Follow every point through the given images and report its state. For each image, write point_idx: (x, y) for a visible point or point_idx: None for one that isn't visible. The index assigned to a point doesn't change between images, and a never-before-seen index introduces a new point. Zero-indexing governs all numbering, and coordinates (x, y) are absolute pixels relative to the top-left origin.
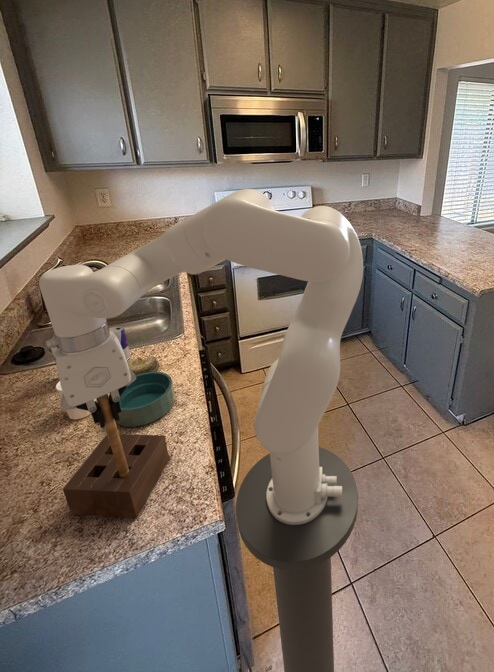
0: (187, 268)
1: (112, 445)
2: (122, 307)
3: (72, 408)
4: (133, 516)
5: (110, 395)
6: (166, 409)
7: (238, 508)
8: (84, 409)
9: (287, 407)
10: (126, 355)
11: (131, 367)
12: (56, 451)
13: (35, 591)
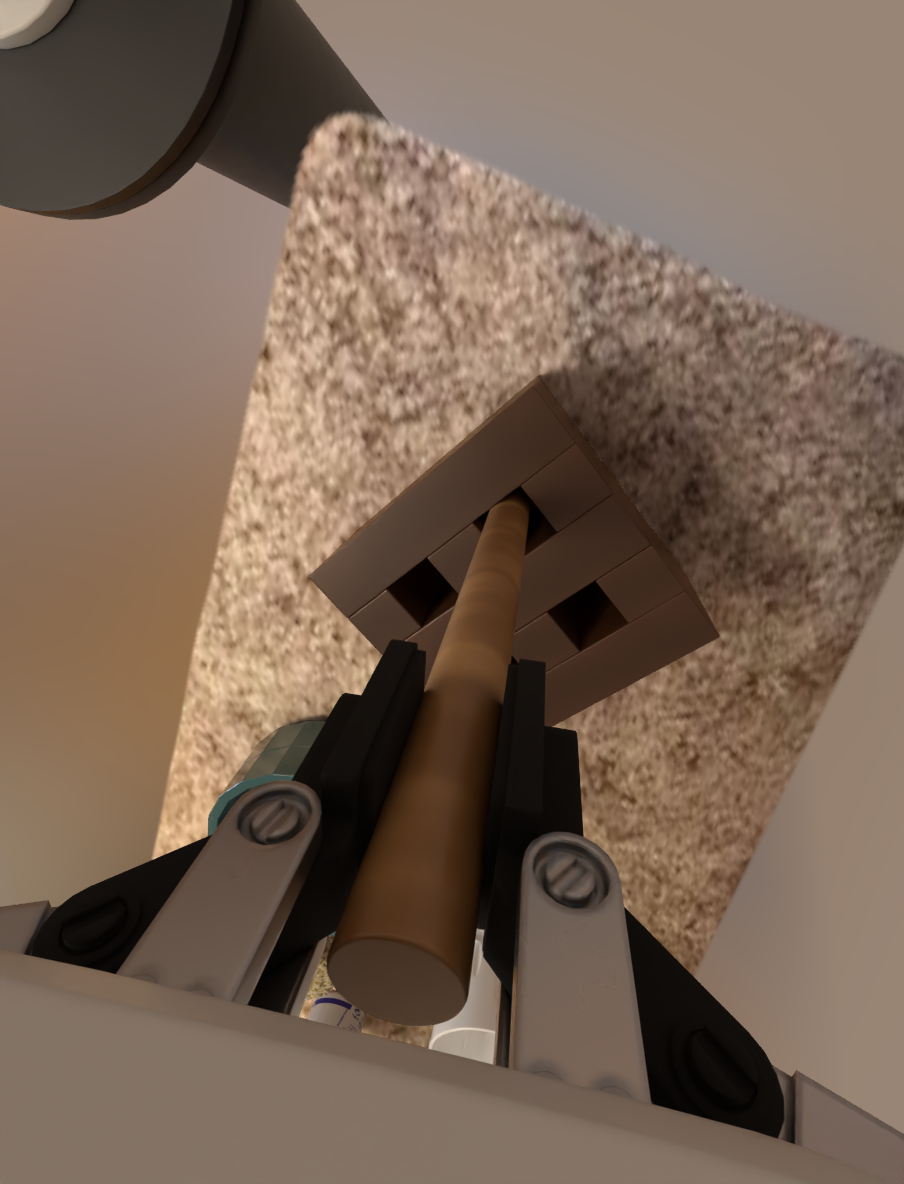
0: None
1: (511, 584)
2: None
3: (827, 1098)
4: (545, 385)
5: (317, 918)
6: (287, 732)
7: (212, 29)
8: (658, 947)
9: None
10: (317, 1020)
11: (319, 969)
12: (616, 839)
13: (897, 371)
